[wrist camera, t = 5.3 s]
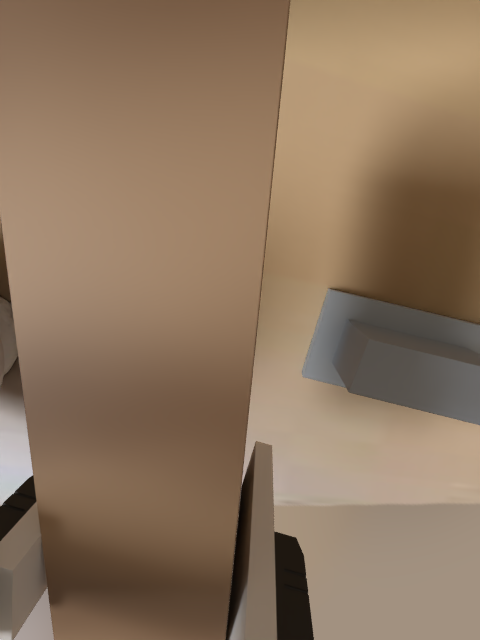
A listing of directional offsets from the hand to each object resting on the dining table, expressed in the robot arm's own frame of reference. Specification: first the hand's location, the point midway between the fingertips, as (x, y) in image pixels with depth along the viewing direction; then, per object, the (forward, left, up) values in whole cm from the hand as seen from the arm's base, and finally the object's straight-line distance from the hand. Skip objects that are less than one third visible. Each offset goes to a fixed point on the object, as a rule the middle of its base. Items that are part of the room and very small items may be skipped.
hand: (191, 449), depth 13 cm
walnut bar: (-6, -1, -1) cm, 6 cm away
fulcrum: (-3, +14, -13) cm, 19 cm away
